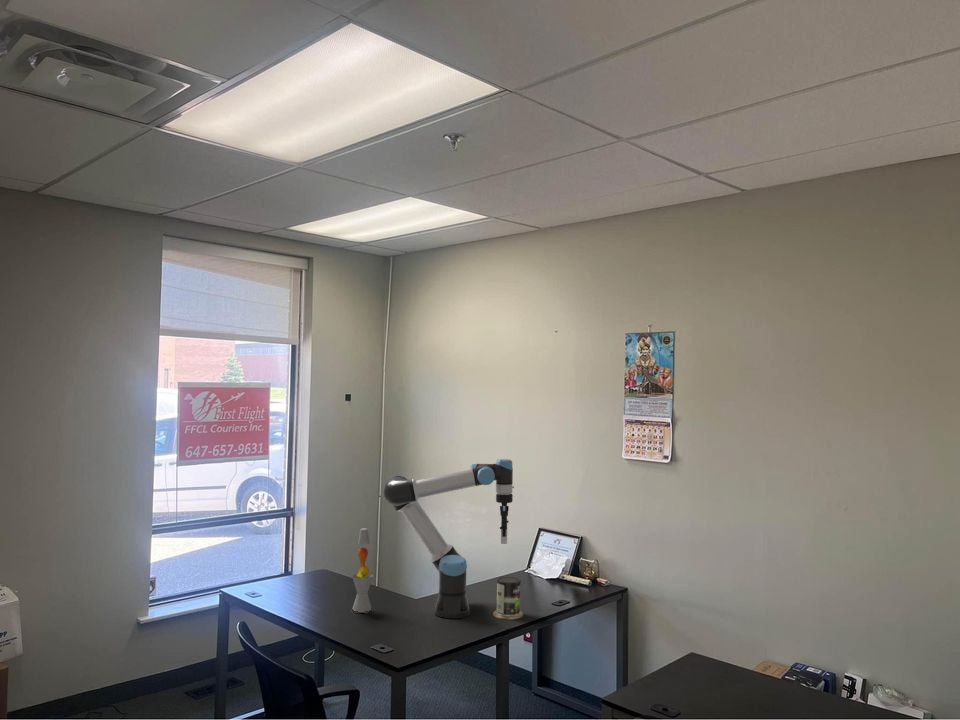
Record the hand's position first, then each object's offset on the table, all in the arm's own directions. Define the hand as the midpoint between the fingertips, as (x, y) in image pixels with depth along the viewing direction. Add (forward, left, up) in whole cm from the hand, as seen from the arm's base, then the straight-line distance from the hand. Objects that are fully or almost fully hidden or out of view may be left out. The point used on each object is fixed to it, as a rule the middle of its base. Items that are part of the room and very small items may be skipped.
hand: (504, 540), depth 317 cm
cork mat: (+1, -16, -28) cm, 32 cm away
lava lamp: (-62, -13, -28) cm, 69 cm away
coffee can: (+1, -16, -28) cm, 32 cm away
